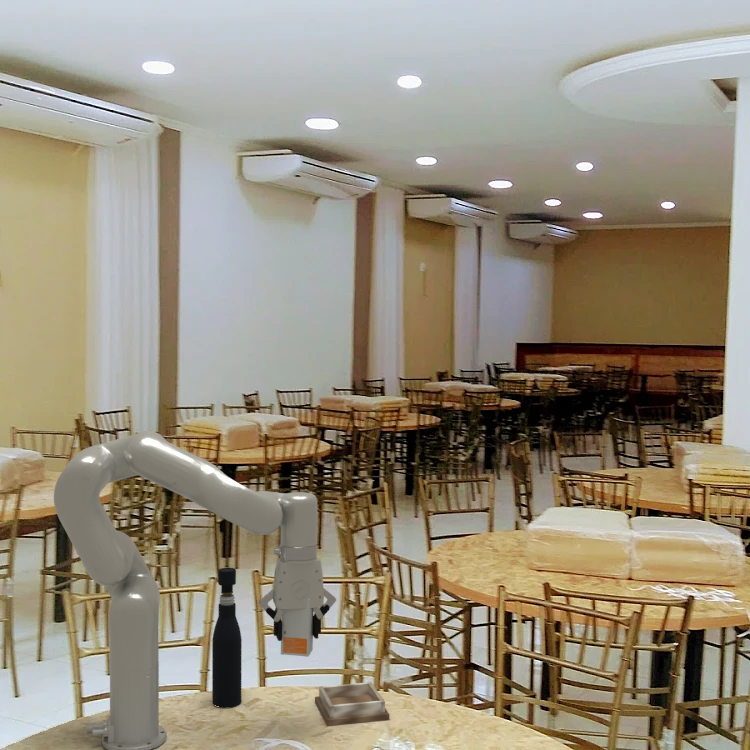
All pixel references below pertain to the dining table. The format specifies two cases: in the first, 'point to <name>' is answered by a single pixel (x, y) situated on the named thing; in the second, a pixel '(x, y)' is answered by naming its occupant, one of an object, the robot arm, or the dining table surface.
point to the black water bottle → (226, 646)
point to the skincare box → (297, 632)
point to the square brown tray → (351, 704)
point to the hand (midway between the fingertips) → (297, 637)
